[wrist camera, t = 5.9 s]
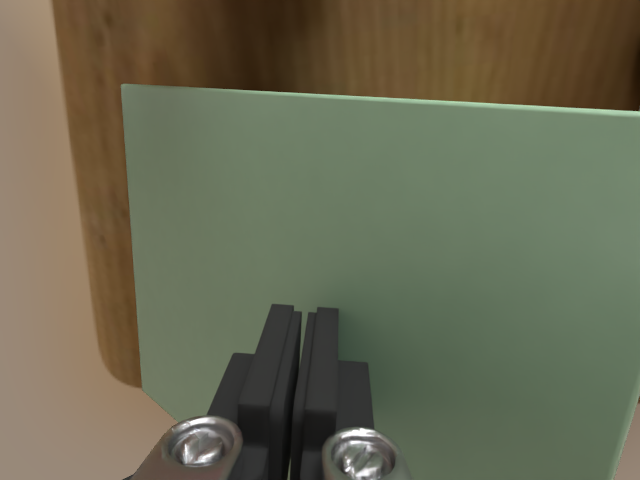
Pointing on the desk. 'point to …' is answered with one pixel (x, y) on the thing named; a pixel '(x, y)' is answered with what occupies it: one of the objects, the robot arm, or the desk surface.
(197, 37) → the desk surface
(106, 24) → the desk surface
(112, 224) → the desk surface
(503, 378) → the lid
